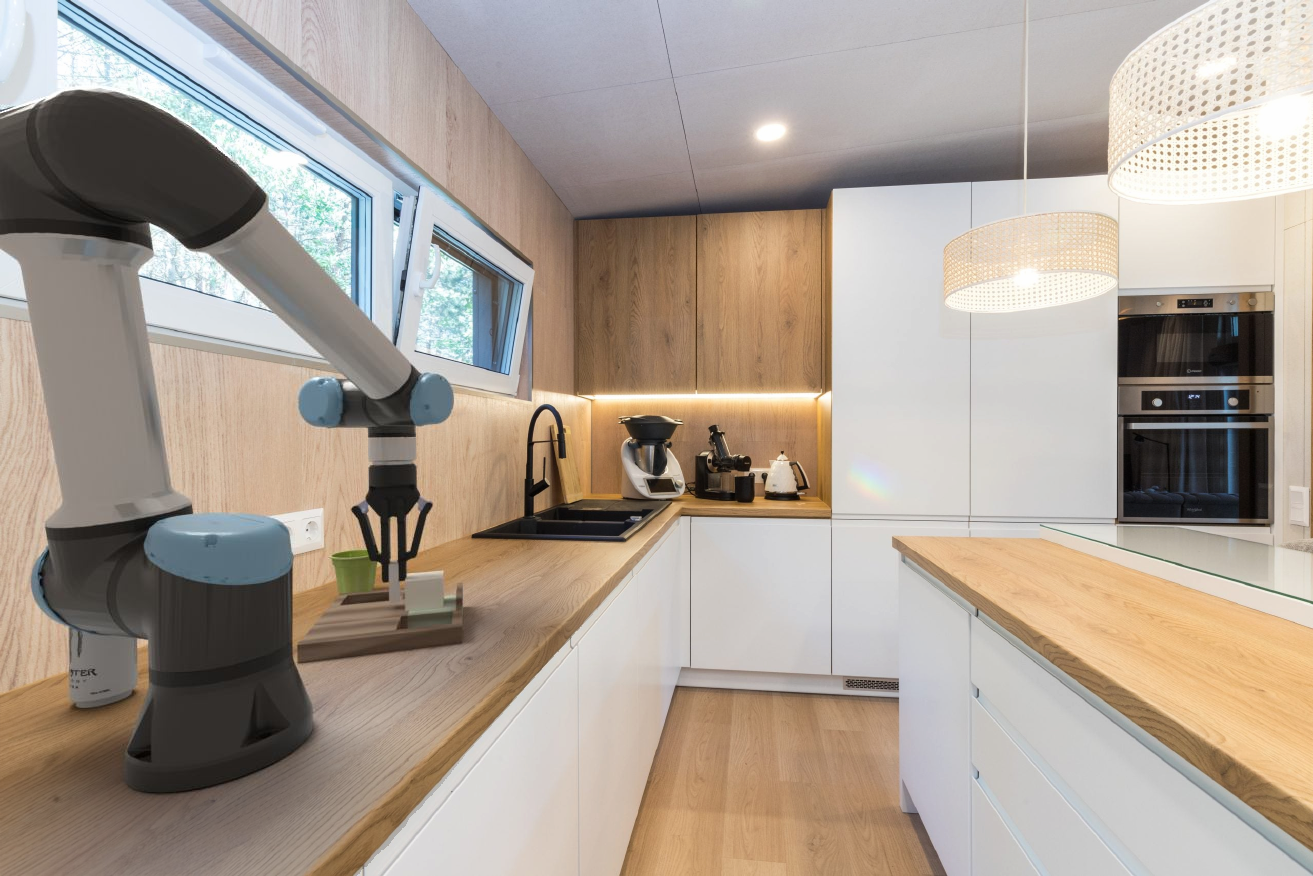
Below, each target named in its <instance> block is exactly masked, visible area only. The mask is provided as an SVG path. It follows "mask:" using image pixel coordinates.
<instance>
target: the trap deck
mask: <svg viewBox="0 0 1313 876" xmlns="http://www.w3.org/2000/svg"><path fill="white" fill-rule="evenodd" d="M463 583H464V582H460V583H456V594H455V593H454V594H447V595H445V594H444V605H443V607H441V608H431V609H422V610H412V611H405V587H400V600H399V602H395V603H389V588H387V589H385V588H384V589H374V591H363V592H352V593H341V594H340V595H339V594H338V596H337V597H336V598H335V599H334V600H333V602H332V603H331V604H330V606H329V607H328V608H326V610H325V611H324V612H323V614H322V615H321V616H320V617H319V618H318V619H317V621H316V622H315V623H314V624H313V625H312V626H311V627H310V629H309V630H308V631H307V633H306V634H305V635H304V636H303V637H302V638H301V640H300V641H299V642H298V644H297V645H296V648H297V649H296V652H297V656H296V657H297V660H296V661H297V664H299V663H306V662H315V661H316V662H317V661H321V660H322V661H323V660H331V659H337V658H338V659H339V658H349V657H355V656H356V657H357V656H364V655H373V654H380V653H390V652H397V651H404V650H413V649H414V650H415V649H421V648H422V649H423V648H430V647H431V648H432V647H438V646H446V645H454V644H455V645H456V644H463V623H464V620H463V619H464V589H463V588H464V587H463V586H464V584H463Z"/></svg>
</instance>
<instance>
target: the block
mask: <svg viewBox="0 0 1313 876" xmlns="http://www.w3.org/2000/svg"><path fill="white" fill-rule="evenodd" d="M444 571H445V570H435V571H424V572H412V573H407V577H406V579H405V581H404V588H405V611H412V610H422V609H431V608H441V607H443V605H444V595H445V594H444V592H445V591H444V590H445V586H444V585H445V583H444V581H445V580H444V579H445V578H444V576H445V575H444Z"/></svg>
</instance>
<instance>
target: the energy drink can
mask: <svg viewBox="0 0 1313 876" xmlns="http://www.w3.org/2000/svg"><path fill="white" fill-rule="evenodd" d="M67 628H68V686H69V688H68V693H69V694H68V695H69V696H68V697H69V701H71V702H73V703H75V706H76V707H77V708H81V709H89V708H96V707H102V706H106V705H110V704H113V703H116V702H119V701H122V700H124V699H126V698H128V697H129V696H131V695H132V694H133V689H134V688H136V687H137V686H138V683H139V682H138V681H139V679H138V677H139V673H138V672H139V671H138V670H139V669H138V664H139V663H138V638H130V637H123V636H115V635H110V636H106V635H93V634H88V633H87V632H83V631H77V630H74V629H72V628H70V627H67Z"/></svg>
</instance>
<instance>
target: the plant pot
mask: <svg viewBox="0 0 1313 876" xmlns="http://www.w3.org/2000/svg"><path fill="white" fill-rule="evenodd" d="M378 552H379V553H381V549H378ZM329 559H331V562H332V565H333V567H334V572H335V578H336V584H337V590H338V591H337V592H338V596H339V595H340V594H341V593H352V592H363V591H374V590H375V582H376V576H377V575H376V574H377V570H378V569H377V568H378V562H376V561H371V560H370V559H369V556H368V552H367V549H366V548H365V549H363V548H361V549H349V550H342V551H338V552H333V553H331V554H330V555H329Z"/></svg>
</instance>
